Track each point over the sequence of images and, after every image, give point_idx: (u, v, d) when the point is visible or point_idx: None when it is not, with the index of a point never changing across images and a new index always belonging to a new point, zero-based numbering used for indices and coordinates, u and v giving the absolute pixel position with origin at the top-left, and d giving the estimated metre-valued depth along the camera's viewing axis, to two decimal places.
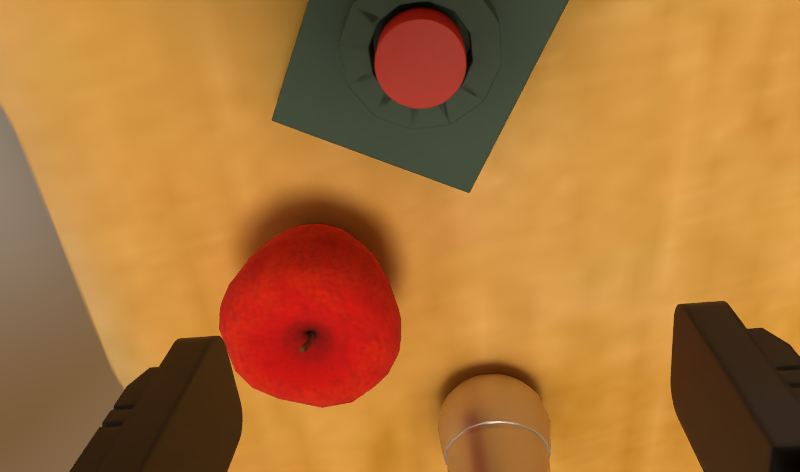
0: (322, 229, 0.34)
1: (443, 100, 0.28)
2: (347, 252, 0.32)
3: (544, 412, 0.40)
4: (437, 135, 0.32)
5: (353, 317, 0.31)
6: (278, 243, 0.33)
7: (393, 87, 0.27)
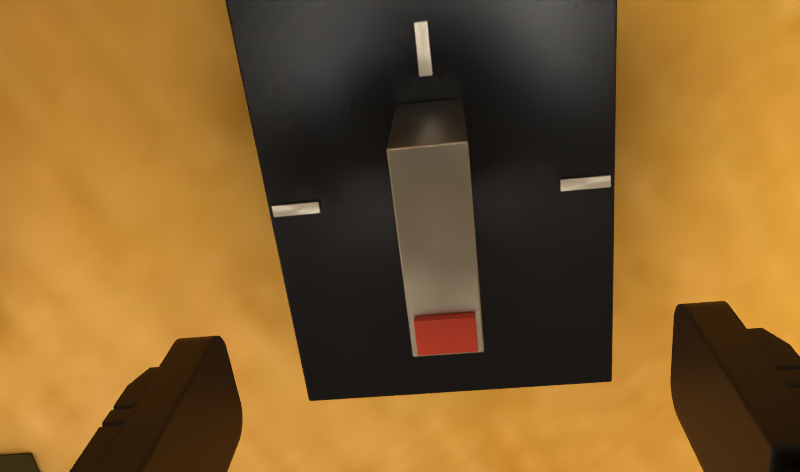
0: None
1: None
2: None
3: None
4: None
5: None
6: None
7: None
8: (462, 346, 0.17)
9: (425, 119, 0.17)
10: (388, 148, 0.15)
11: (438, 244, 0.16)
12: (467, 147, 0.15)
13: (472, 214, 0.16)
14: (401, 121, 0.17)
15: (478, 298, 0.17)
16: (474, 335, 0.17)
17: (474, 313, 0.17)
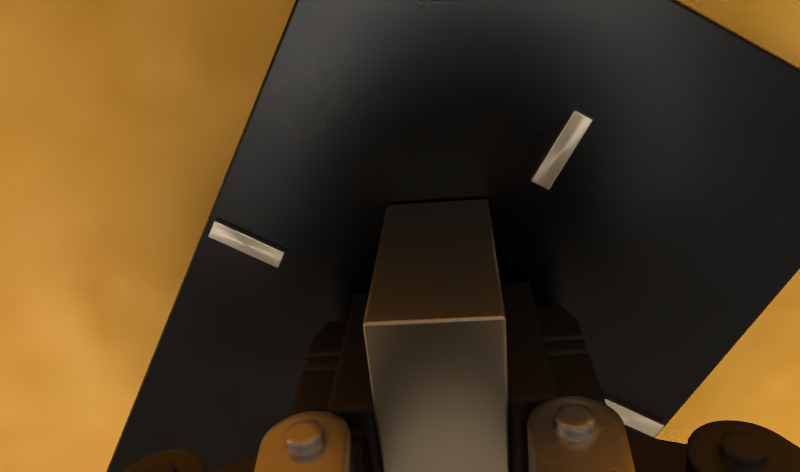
0: None
1: None
2: None
3: None
4: None
5: None
6: None
7: None
8: None
9: (430, 247, 0.10)
10: (366, 321, 0.09)
11: (447, 469, 0.10)
12: (504, 326, 0.09)
13: (507, 427, 0.09)
14: (393, 246, 0.11)
15: None
16: None
17: None
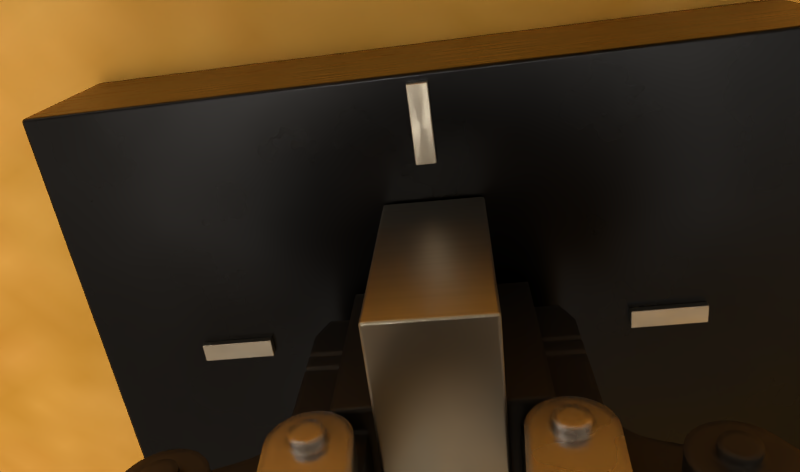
0: None
1: None
2: None
3: None
4: None
5: None
6: None
7: None
8: None
9: (427, 246, 0.10)
10: (361, 321, 0.09)
11: (447, 466, 0.10)
12: (500, 322, 0.09)
13: (506, 424, 0.09)
14: (389, 245, 0.11)
15: None
16: None
17: None
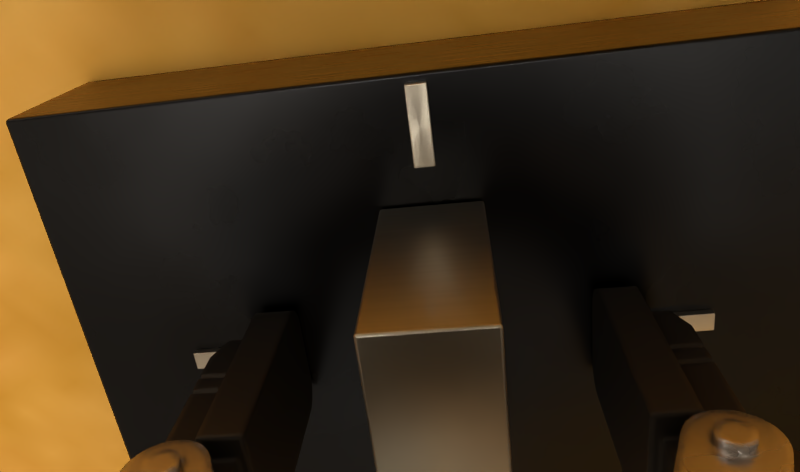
0: None
1: None
2: None
3: None
4: None
5: None
6: None
7: None
8: None
9: (425, 253, 0.10)
10: (357, 333, 0.08)
11: None
12: (501, 334, 0.08)
13: (508, 440, 0.09)
14: (386, 252, 0.10)
15: None
16: None
17: None
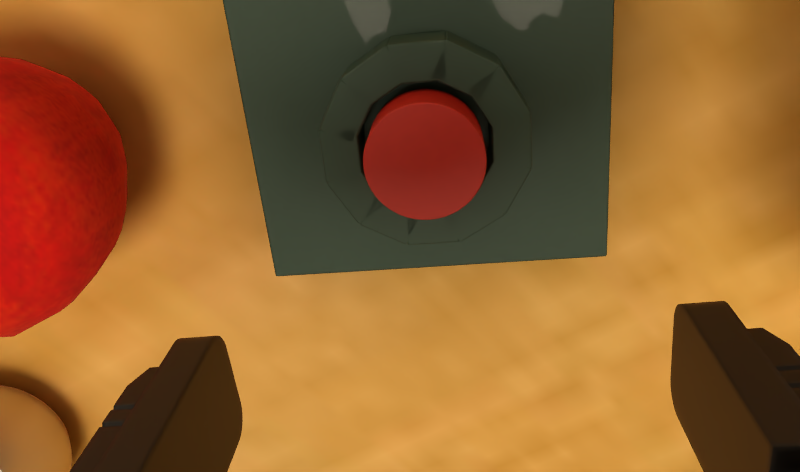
0: (113, 133, 0.23)
1: (395, 210, 0.21)
2: (113, 191, 0.21)
3: None
4: (325, 206, 0.24)
5: (35, 262, 0.20)
6: (57, 91, 0.21)
7: (380, 145, 0.20)
8: None
9: None
10: None
11: None
12: None
13: None
14: None
15: None
16: None
17: None
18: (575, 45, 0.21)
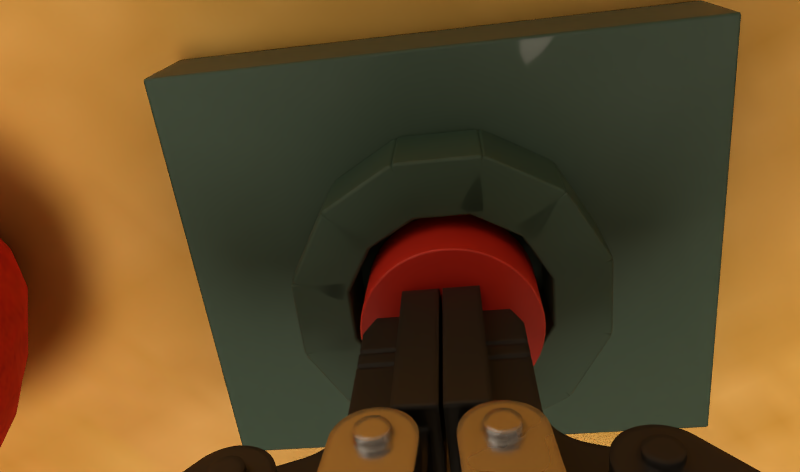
0: None
1: None
2: None
3: None
4: (308, 365, 0.17)
5: None
6: None
7: (385, 307, 0.13)
8: None
9: None
10: None
11: None
12: None
13: None
14: None
15: None
16: None
17: None
18: (673, 147, 0.14)
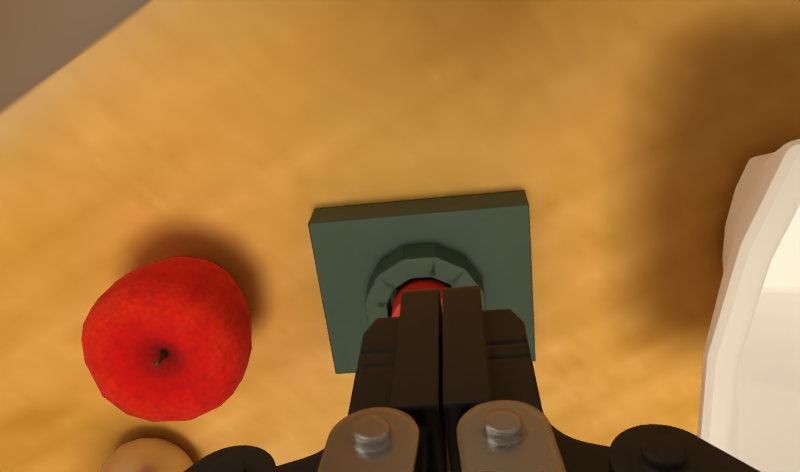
0: (243, 299, 0.39)
1: None
2: (249, 337, 0.38)
3: None
4: None
5: (213, 383, 0.36)
6: (219, 285, 0.37)
7: None
8: None
9: None
10: None
11: None
12: None
13: None
14: None
15: None
16: None
17: None
18: (509, 250, 0.38)
